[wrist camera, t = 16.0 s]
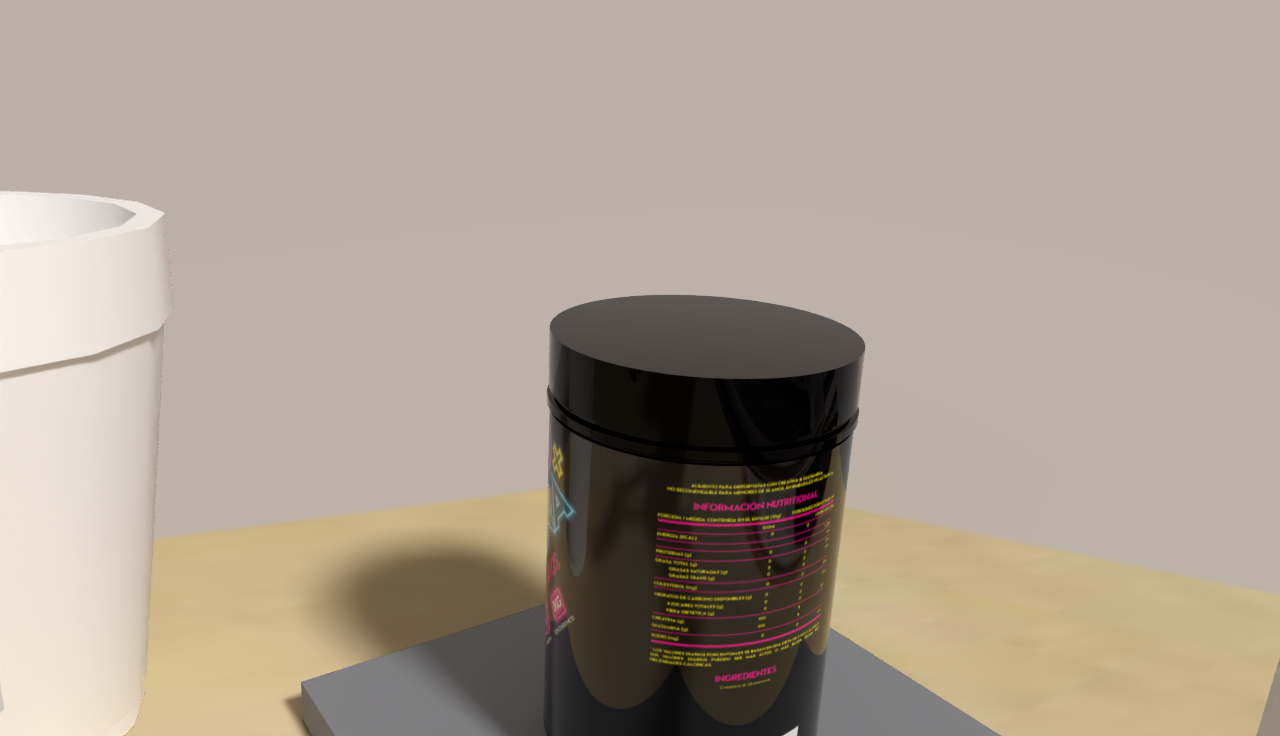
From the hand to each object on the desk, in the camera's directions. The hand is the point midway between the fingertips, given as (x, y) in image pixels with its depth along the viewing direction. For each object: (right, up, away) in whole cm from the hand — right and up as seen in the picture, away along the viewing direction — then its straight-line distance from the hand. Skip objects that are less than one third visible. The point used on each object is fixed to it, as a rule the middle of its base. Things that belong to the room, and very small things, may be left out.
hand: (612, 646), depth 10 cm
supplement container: (+1, -6, +14) cm, 16 cm away
